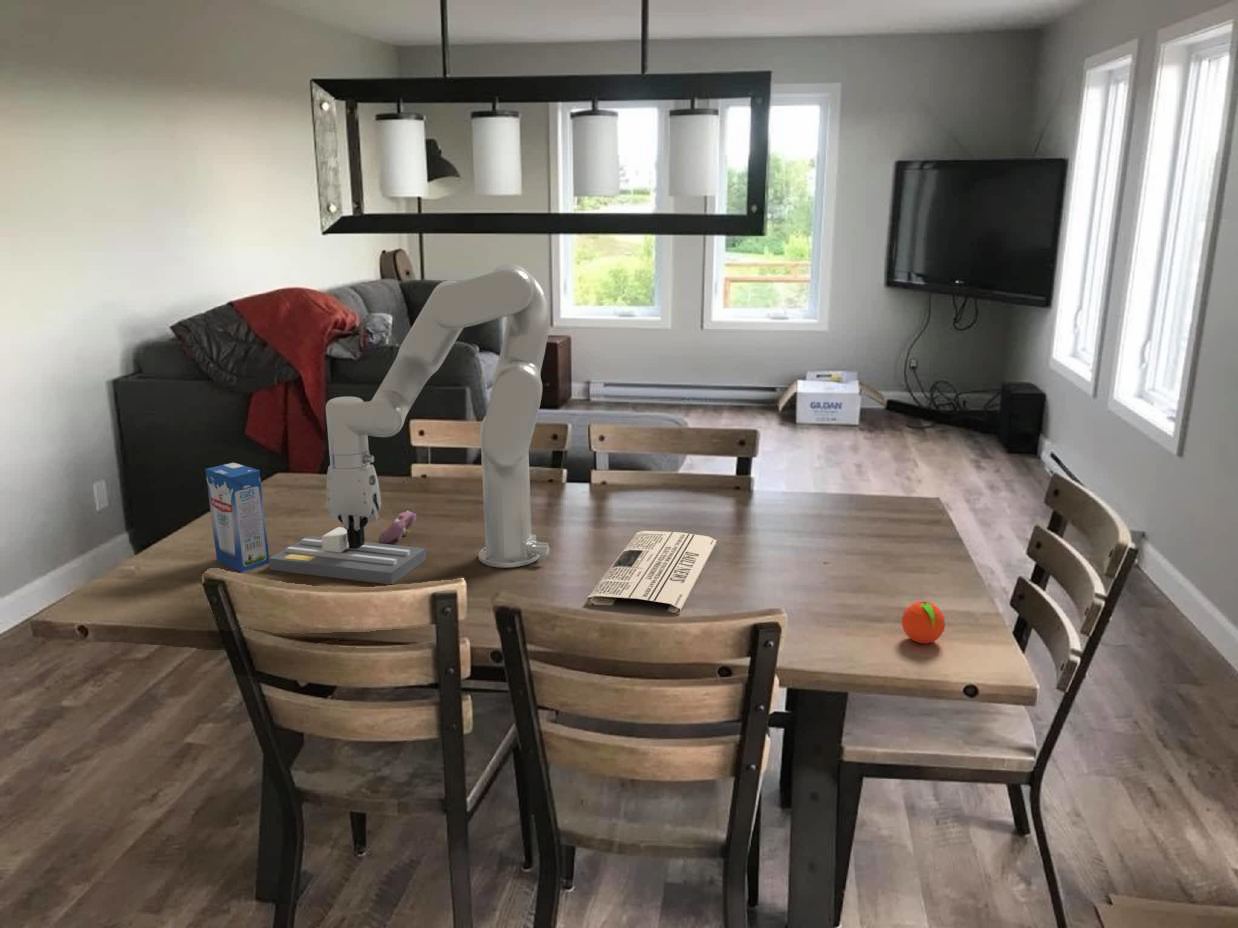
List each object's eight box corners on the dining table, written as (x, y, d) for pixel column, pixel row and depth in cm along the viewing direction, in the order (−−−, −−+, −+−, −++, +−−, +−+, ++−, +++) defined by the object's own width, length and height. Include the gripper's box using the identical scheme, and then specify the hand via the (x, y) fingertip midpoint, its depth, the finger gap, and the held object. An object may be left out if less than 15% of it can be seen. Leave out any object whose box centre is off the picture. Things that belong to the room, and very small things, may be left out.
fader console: (426, 559, 205) (425, 544, 204) (391, 584, 192) (390, 568, 192) (310, 546, 214) (309, 531, 213) (270, 569, 201) (268, 553, 200)
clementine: (953, 652, 162) (956, 612, 160) (912, 654, 162) (915, 614, 160) (933, 631, 170) (936, 592, 168) (894, 633, 169) (897, 594, 167)
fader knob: (356, 547, 205) (355, 528, 204) (340, 556, 199) (338, 538, 198) (340, 545, 206) (338, 527, 205) (323, 555, 201) (321, 536, 200)
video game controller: (394, 552, 214) (406, 525, 212) (375, 542, 215) (387, 515, 212) (411, 536, 224) (423, 511, 222) (394, 527, 224) (405, 501, 222)
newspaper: (636, 540, 217) (636, 528, 216) (724, 548, 212) (724, 536, 211) (586, 607, 183) (586, 593, 182) (689, 618, 178) (689, 603, 177)
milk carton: (216, 561, 206) (205, 468, 200) (244, 552, 210) (233, 462, 205) (242, 572, 200) (230, 477, 194) (270, 563, 204) (259, 470, 199)
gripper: (392, 457, 198) (398, 544, 202) (327, 452, 202) (335, 536, 207) (373, 467, 191) (379, 556, 196) (306, 461, 195) (314, 549, 200)
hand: (356, 546), depth 201 cm, fingers closed
